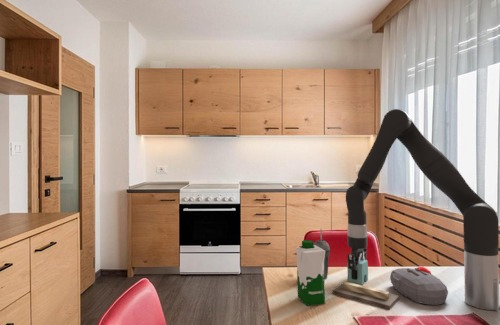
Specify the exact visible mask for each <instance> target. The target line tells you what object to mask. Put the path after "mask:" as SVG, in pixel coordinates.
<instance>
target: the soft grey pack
mask: <svg viewBox="0 0 500 325" xmlns="http://www.w3.org/2000/svg"><path fill="white" fill-rule="evenodd" d="M417 268H418V267H416V268H415V267H414V268H406V267H403V268H401V267H400V268H395V269H393V270H392V271H391V272H390V278H389V279H390V283H391V285H392V286H393V287H394V288H395V289H396V290H397V292H398V293H400V294H401V295H403V296H404V297H406V298H407V299H410V300H411V301H413V302H416V303H420V304H424V305H431V306H432V305H433V306H434V305H435V306H438V305H441V304H444V303H445V302H446V300H447V298H448V295H449V290H448V287H447V285H446V284H444V282H443V281H442V280H441V279H440V278H438V277H437V276H436V275H434V274H432V273H431V274H429V273H426V272H423V271H421V270H418V269H417Z"/></svg>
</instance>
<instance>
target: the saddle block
mask: <svg viewBox="0 0 500 325" xmlns="http://www.w3.org/2000/svg"><path fill="white" fill-rule="evenodd" d="M355 262H357V261H355ZM346 265H347V266H348V260H347V264H346ZM355 266H356V264H355ZM357 273H358V279H357V280H355V279H352V278H351V269H349V268H348V267H347V282H350V283H354V284H358V285H362V286H364V284H365V282H369V261H368V260H367V259H366V260H360V263H359V264H358V269H357Z"/></svg>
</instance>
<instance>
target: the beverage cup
mask: <svg viewBox="0 0 500 325" xmlns="http://www.w3.org/2000/svg"><path fill="white" fill-rule="evenodd" d="M322 231H323V229H322V228H320V231H319V232H320V239H318V240H316V241H315V242H313V244H314V245H316V246H318V247H320V248H322V249H323V250H325V251H326V252H325V258H324V281H325V280H327V279H328V275H329V274H328V272H329V258H330V253H331V249H330V245H329V243H328V242H327V241H326V240H324V239H323V236H322V235H323V232H322Z"/></svg>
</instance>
